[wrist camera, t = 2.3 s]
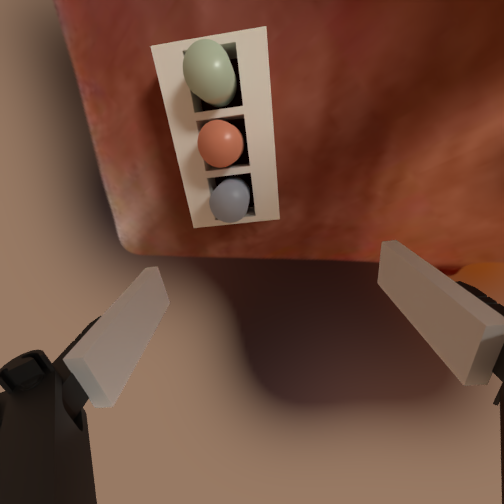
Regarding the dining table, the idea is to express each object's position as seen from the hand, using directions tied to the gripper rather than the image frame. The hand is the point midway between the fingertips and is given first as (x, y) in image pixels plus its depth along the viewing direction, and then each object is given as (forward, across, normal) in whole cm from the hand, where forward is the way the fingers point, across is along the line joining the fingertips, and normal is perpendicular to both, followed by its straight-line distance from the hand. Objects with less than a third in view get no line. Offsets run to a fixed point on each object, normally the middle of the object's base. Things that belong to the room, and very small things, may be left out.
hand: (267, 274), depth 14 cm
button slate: (+21, -4, +1) cm, 21 cm away
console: (+24, -4, +8) cm, 25 cm away
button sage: (+21, -4, +14) cm, 26 cm away
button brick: (+21, -4, +8) cm, 23 cm away
